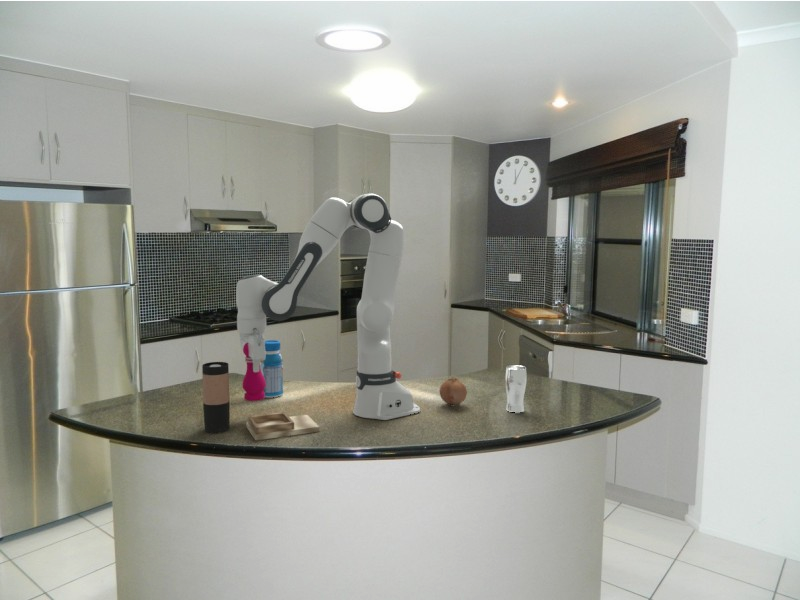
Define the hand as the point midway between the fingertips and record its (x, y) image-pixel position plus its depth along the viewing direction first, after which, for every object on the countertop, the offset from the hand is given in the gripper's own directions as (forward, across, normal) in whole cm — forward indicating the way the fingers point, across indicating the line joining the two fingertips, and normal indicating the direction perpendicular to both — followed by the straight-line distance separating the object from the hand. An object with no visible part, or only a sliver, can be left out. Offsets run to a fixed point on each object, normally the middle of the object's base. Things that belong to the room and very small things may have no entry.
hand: (253, 369), depth 184 cm
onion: (+18, -13, -65) cm, 69 cm away
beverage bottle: (+16, +26, -11) cm, 33 cm away
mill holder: (+16, -13, -5) cm, 21 cm away
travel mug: (+16, -5, +13) cm, 21 cm away
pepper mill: (+10, 0, 0) cm, 10 cm away
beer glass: (+18, -27, -81) cm, 87 cm away
